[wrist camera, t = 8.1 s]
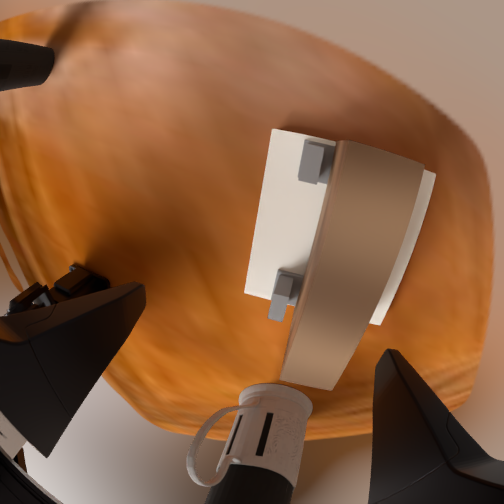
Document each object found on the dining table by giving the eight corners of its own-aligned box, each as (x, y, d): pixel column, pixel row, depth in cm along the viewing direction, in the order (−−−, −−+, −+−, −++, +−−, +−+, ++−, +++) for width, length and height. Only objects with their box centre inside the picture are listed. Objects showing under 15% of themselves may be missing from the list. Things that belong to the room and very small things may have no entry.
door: (332, 317, 19) (331, 390, 13) (294, 308, 20) (279, 379, 13) (383, 154, 14) (425, 164, 8) (336, 140, 15) (348, 139, 8)
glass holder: (257, 426, 31) (225, 522, 17) (201, 354, 27) (133, 472, 14) (321, 420, 27) (303, 530, 14) (278, 340, 24) (230, 497, 10)
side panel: (377, 314, 20) (385, 350, 16) (249, 283, 22) (232, 314, 18) (428, 171, 15) (455, 181, 11) (275, 129, 17) (262, 125, 13)
